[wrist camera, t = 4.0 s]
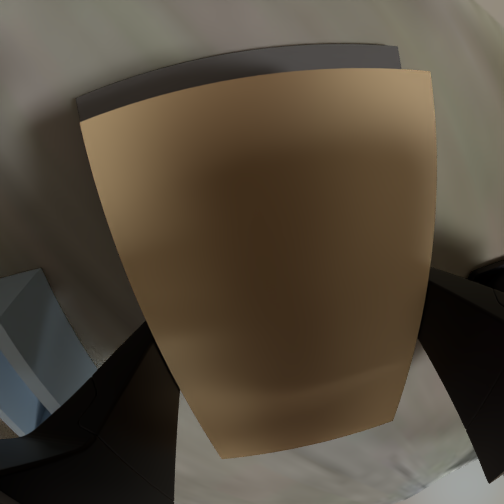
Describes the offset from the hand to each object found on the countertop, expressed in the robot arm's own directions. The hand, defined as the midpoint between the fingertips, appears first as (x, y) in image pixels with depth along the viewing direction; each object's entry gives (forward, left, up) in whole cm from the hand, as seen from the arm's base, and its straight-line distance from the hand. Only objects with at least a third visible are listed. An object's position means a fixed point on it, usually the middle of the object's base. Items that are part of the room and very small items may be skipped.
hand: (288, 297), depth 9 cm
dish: (+14, +4, -4) cm, 15 cm away
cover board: (0, 0, -1) cm, 1 cm away
